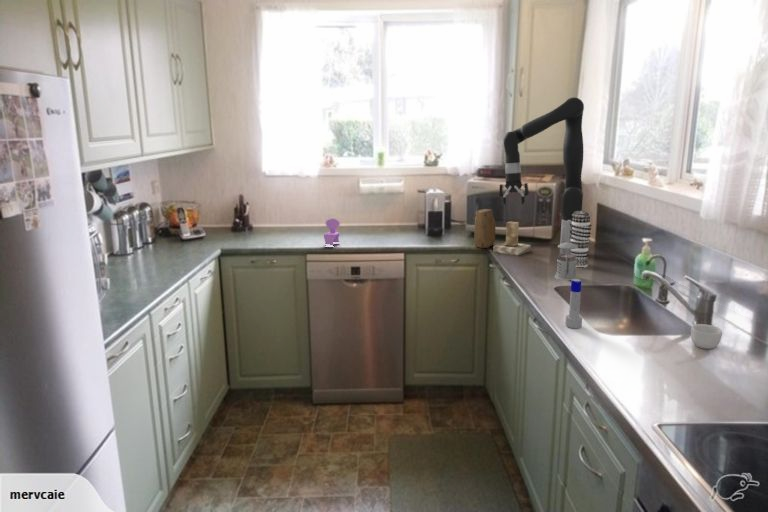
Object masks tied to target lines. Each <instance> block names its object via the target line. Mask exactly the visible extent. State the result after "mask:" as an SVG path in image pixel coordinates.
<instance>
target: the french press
mask: <svg viewBox="0 0 768 512" xmlns="http://www.w3.org/2000/svg"><path fill="white" fill-rule="evenodd" d="M567 223H569V225H570V223H572V221H571V220H568V221H567ZM557 248H558V249H560V248H561V249H567V252H566V254H561V253H559V254H558V257H557V260H556V262H557V263H556V265H557V266H556V268H557V269H556V274H555V275H554V276H555V278H556V279H555V278H554V279H555V280H558V279H560V280H559V281H562V280H572V279H577V277H578V276H577V268H576V267H575V266H576V265H577V264H576V262H577V259H576V255H573V254H571V252H570V254H568V249H576V248H578V246H577V245H576V244H573V243H569V232H568V242H566V243H562V244H560V243H559V244H558V245H557ZM574 264H575V265H574Z"/></svg>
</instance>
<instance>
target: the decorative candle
mask: <svg viewBox="0 0 768 512" xmlns="http://www.w3.org/2000/svg"><path fill="white" fill-rule="evenodd" d="M572 215H573V217H572V224H570V225H571V226H572V227H570V230H571V231H570V233H571V235H570V241H571V243H573V244H576V245H577V246H578V248H576V249H570V250H569V252H571V254H573V255H576V259H577V262H576V264H577V265H576V266H575V267H584V268H587V267H588V266H589V265H588V264H589V258H588V257H589V253H590V252H589V242H590V239H589V238H591V234H592V233H591V232H590V231H591V230H592V228H591V227H592V224H591V216H592V215H591V214H590V212H588V211H586V210H582V211H575V212H574V214H572ZM569 254H570V253H569ZM574 265H575V264H574Z"/></svg>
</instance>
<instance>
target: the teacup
mask: <svg viewBox="0 0 768 512" xmlns="http://www.w3.org/2000/svg"><path fill="white" fill-rule="evenodd" d="M722 336H723V330H722V329H721V328H719V327H718V326H714V325H711V324H705V323H704V324H703V323H699V324H697V323H696V324H693V325H692V326H691V328H690V338H691V341H692V343H693V344H694V345H695V346H696V347H698V348H701V349H703V350H712V349H714V348H717V347H718V346H719V344H720V343H721V341H722Z"/></svg>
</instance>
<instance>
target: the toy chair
mask: <svg viewBox="0 0 768 512" xmlns="http://www.w3.org/2000/svg"><path fill="white" fill-rule="evenodd" d="M340 224H341V223H340V221H339V220H338V219H336V218H329V219H328V220H326V221H325V226H326V227H327V228H328V229H329V230H330V231H328V232H325V233H323V239H324V243H325V244H330V245H334V246H335V244H333V242H340V239H339V237H340V232H338V231H337V229H338V228H339V226H340ZM325 244H324V245H325Z"/></svg>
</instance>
